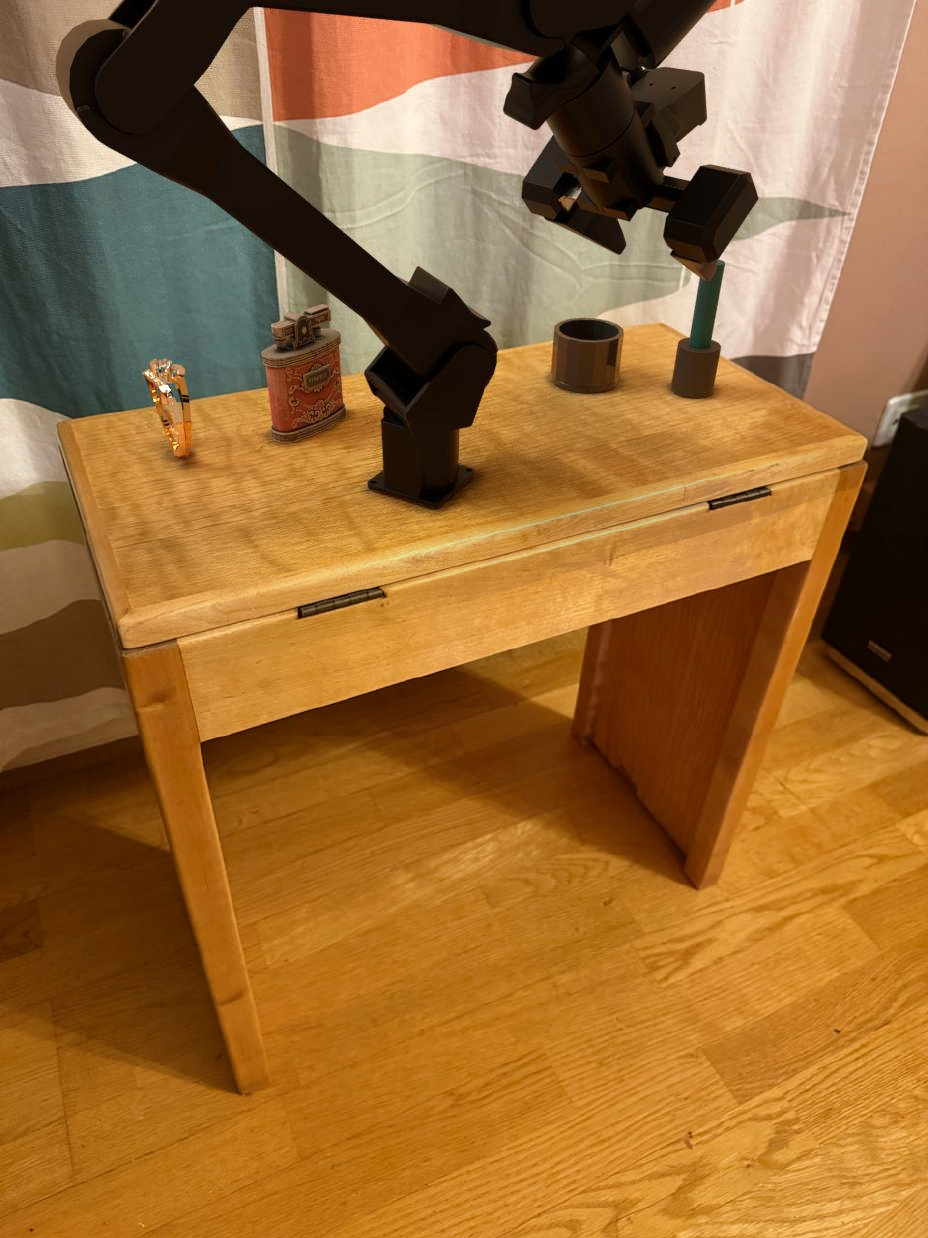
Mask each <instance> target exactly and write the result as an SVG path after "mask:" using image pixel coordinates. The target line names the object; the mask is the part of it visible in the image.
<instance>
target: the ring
mask: <svg viewBox="0 0 928 1238" xmlns="http://www.w3.org/2000/svg"><path fill="white" fill-rule="evenodd" d="M149 365H150V366H149V367H150V368H147V369H145V370H144V371H142V372H141V374H142V375H143V377H144V379H145V383H146V386H147V387H148V390H149V393H150V395H151V398H152V401H153V404H154V407H155V409H156V411H157V414H158V418H159V419H160V421H161V422H160V423H161V425H162V427H163V430H164V433H165V434H166V437H167V439H168V443H169V445H170V447H171V449H172V452H173V456H174V457H177V458H179V457H185V456H189V455H190V453H191V448H192V413H191V411H192V410H191V403H190V396H189V391H188V386H187V382H186V380H185V374H186V369H185V367H184V366H183V365H181V364H176V363H175V364H173V361H172V360H171V359H169V360H168V358H163V359H159V358H154V359H152V360H151V361H149ZM174 373H175V374H176V376H175V374H174ZM167 384H171V385H172V384H174V387H175V389H176V391H177V393H178V397H179V400H180V405H181V412H180V408H179V405H178V403H177V400H176V398H175V395H174V393H173V392H172V390H171V389H170V388H169V386H168V385H167ZM157 391H158V392H157ZM169 407H170V408H169ZM171 413H172V415H171ZM181 413H182V415H181ZM172 416H173V418H172ZM173 420H174V421H173ZM174 423H175V424H174Z"/></svg>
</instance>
